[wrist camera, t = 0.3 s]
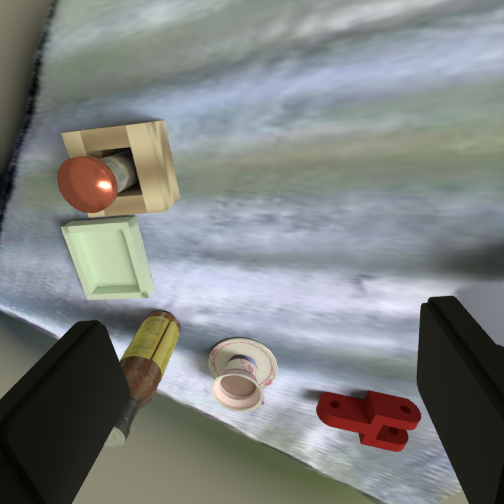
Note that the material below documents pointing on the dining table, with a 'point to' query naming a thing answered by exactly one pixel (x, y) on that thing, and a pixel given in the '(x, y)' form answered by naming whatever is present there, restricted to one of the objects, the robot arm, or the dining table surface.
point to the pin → (96, 180)
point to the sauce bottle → (144, 368)
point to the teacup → (241, 373)
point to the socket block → (146, 161)
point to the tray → (109, 258)
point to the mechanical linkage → (371, 417)
